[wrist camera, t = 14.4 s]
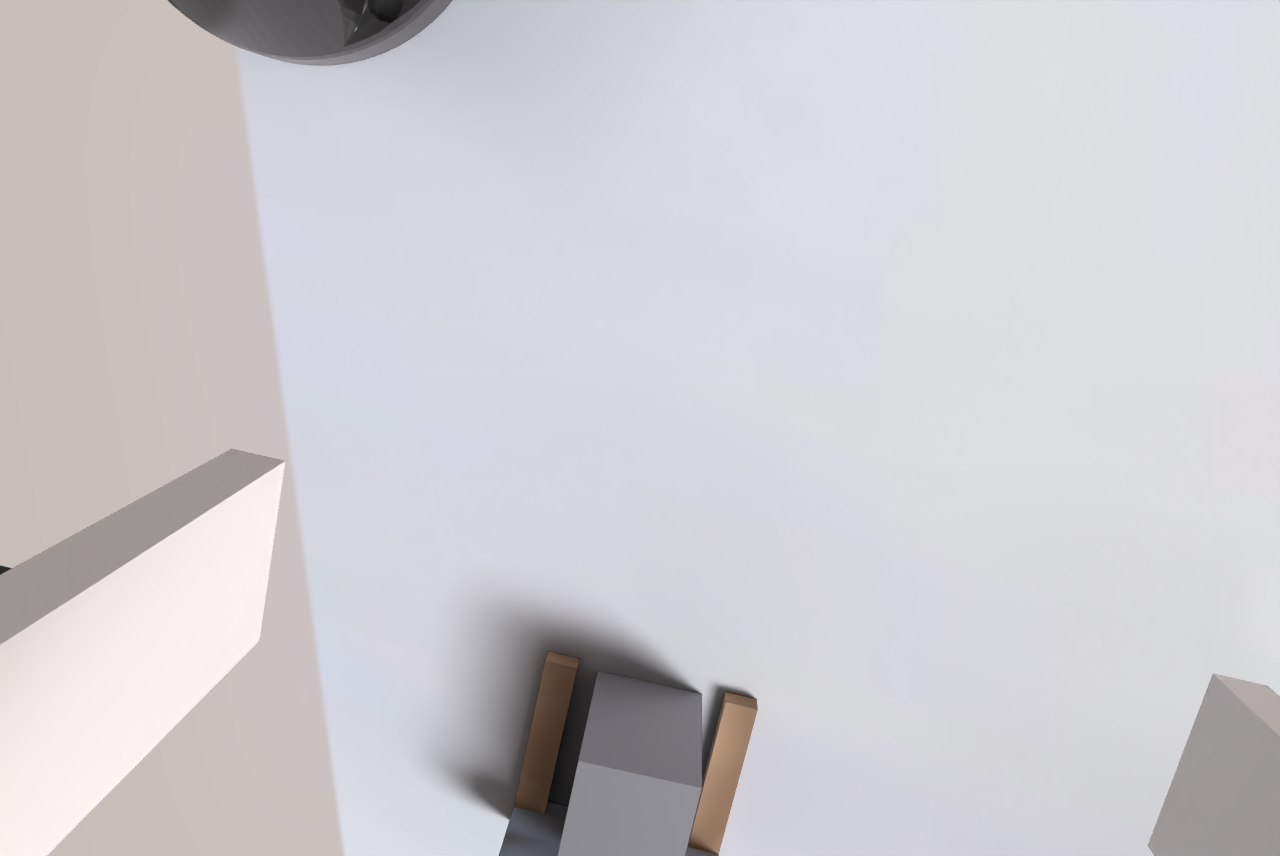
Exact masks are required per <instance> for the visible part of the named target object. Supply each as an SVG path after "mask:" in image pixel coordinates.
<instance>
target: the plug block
mask: <svg viewBox="0 0 1280 856" xmlns="http://www.w3.org/2000/svg"><path fill="white" fill-rule="evenodd" d="M701 789H702V694H700V693H696V692H691V691H687V690H682V689H678V688H673V687H668V686H664V685H659V684H655V683H650V682H646V681H641V680H637V679H632V678H628V677H623V676H619V675H614V674H610V673H605V672H600V671H598V673H597V678H596V683H595V687H594V692H593V696H592V701H591V705H590V710H589V715H588V719H587V724H586V728H585V733H584V737H583V742H582V747H581V751H580V756H579V760H578V765H577V769H576V774H575V779H574V783H573V788H572V792H571V797H570V802H569V806H568V811H567V815H566V820H565V825H564V829H563V834H562V838H561V843H560V848H559V852H558V856H685V853H686V849H687V845H688V841H689V837H690V833H691V829H692V825H693V821H694V817H695V813H696V809H697V805H698V801H699V797H700V793H701Z"/></svg>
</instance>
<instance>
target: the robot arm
mask: <svg viewBox="0 0 1280 856" xmlns="http://www.w3.org/2000/svg"><path fill="white" fill-rule="evenodd" d="M168 1H169V2H170V3H171V4H172V5H173V6H174V7H175V8H177V9H178V10H179V11H180V12H181V13H183V14H184V15H185V16H186V17H188V18H189V19H191V20H192V21H193V22H195V23H196V24H197V25H199V26H200V27H201V28H203V29H204V30H206V31H208V32H209V33H211V34H212V35H214V36H216V37H218V38H220V39H222V40H224V41H226V42H228V43H230V44H232V45H235V46H237V47H239V48H242V49H245V50H248V51H251V52H254V53H257V54H260V55H263V56H266V57H269V58H273V59H277V60H280V61H284V62H290V63H295V64H304V65H338V64H346V63H352V62H356V61H361V60H365V59H368V58H371V57H374V56H377V55H380V54H382V53H385V52H387V51H389V50H391V49H393V48H395V47H397V46H399V45H401V44H403V43H404V42H406V41H408V40H409V39H411V38H412V37H414V36H415V35H417V34H418V33H419V32H421V31H422V30H423V29H425V28H426V27H427V26H428V25H429V24H430V23H432V22H433V21H434V20H435V19H436V18H437V17H438V16H439V15H440V14H441V13H442V12H443V11H444V10H445V8H446V7H447V6H448V5H449V4H450V3H451V2H452V0H168ZM284 466H285V461H283V460H279V459H274V458H269V457H266V456H261V455H256V454H253V453H248V452H244V451H239V450H235V449H230V450H229V451H227V452H225V453H223V454H221V455H220V456H218V457H216V458H214V459H212V460H210V461H208V462H206V463H205V464H203V465H201V466H199V467H197V468H196V469H194V470H192V471H190V472H188V473H187V474H184V475H183V476H181V477H179V478H177V479H175V480H173V481H172V482H170V483H168V484H166V485H164V486H163V487H161V488H159V489H157V490H155V491H153V492H152V493H150V494H148V495H146V496H144V497H142V498H141V499H139V500H137V501H135V502H133V503H131V504H129V505H128V506H126V507H124V508H122V509H120V510H118V511H117V512H115V513H113V514H111V515H109V516H107V517H106V518H104V519H102V520H100V521H98V522H97V523H95V524H93V525H91V526H89V527H87V528H86V529H84V530H82V531H80V532H78V533H76V534H74V535H73V536H71V537H69V538H67V539H65V540H63V541H62V542H60V543H58V544H56V545H54V546H52V547H51V548H49V549H47V550H45V551H43V552H41V553H40V554H38V555H36V556H34V557H32V558H31V559H29V560H27V561H25V562H23V563H21V564H19V565H18V566H16V567H14V568H8V567H4V566H0V856H47V855H48V854H49V853H50V852H51V851H52V850H53V849H54V848H55V847H56V846H57V845H58V844H59V843H60V842H61V841H62V840H63V839H64V837H66V835H68V834H69V833H70V831H71V830H73V829H74V827H76V826H77V824H78V823H79V822H80V821H81V820H82V819H83V818H84V817H85V816H86V815H87V814H88V813H89V812H90V811H91V810H92V809H93V808H94V807H95V806H96V805H97V804H98V803H99V802H100V801H101V800H102V799H103V798H104V797H105V796H106V795H107V794H108V793H109V792H110V791H111V790H112V789H113V788H114V787H115V786H116V785H117V784H118V783H119V782H120V781H121V780H122V779H123V778H124V777H125V776H126V775H127V774H128V773H129V772H130V771H131V770H132V769H133V768H134V767H135V766H136V765H137V764H138V763H139V762H140V761H141V760H142V759H143V758H144V757H145V756H146V755H147V754H148V753H149V752H150V751H151V750H152V749H153V748H154V746H155V745H157V744H158V742H160V740H162V739H163V737H164V736H165V735H166V734H167V733H168V732H169V731H170V730H171V729H172V728H173V727H174V726H175V725H176V724H177V723H178V722H179V721H180V720H181V719H182V718H183V717H184V716H185V715H186V714H187V713H188V712H189V711H190V710H191V709H192V708H193V707H194V706H195V705H196V704H197V703H198V702H199V701H200V700H201V699H202V698H203V697H204V696H205V695H206V694H207V693H208V692H209V691H210V690H211V689H212V688H213V687H214V686H215V685H216V684H217V683H218V682H219V681H220V680H221V679H222V678H223V677H224V676H225V675H226V674H227V672H229V671H230V670H231V669H232V668H233V667H234V666H235V665H236V663H237V662H239V660H240V659H242V658H243V657H244V656H245V654H247V653H248V652H249V650H250V649H252V647H253V646H254V645H255V644H256V643H257V642H258V641H259V638H260V632H261V625H262V617H263V611H264V604H265V597H266V590H267V583H268V576H269V570H270V563H271V556H272V549H273V543H274V536H275V529H276V522H277V514H278V507H279V501H280V495H281V488H282V481H283V474H284ZM1148 847H1149V848H1150V850H1151V851H1152V853H1153V854H1154V855H1155V856H1280V696H1278V695H1277V694H1276V693H1275V692H1274V691H1273V690H1272V689H1270V688H1269V687H1268V686H1266V685H1261V684H1257V683H1252V682H1248V681H1244V680H1239V679H1235V678H1231V677H1226V676H1222V675H1218V674H1213V675H1212V677H1211V680H1210V683H1209V685H1208V688H1207V691H1206V693H1205V696H1204V698H1203V701H1202V704H1201V706H1200V709H1199V712H1198V714H1197V717H1196V720H1195V722H1194V725H1193V728H1192V730H1191V733H1190V735H1189V738H1188V741H1187V743H1186V746H1185V749H1184V751H1183V754H1182V757H1181V759H1180V762H1179V765H1178V767H1177V770H1176V772H1175V775H1174V778H1173V780H1172V783H1171V786H1170V788H1169V791H1168V794H1167V796H1166V799H1165V802H1164V804H1163V807H1162V809H1161V812H1160V815H1159V817H1158V820H1157V823H1156V825H1155V828H1154V831H1153V833H1152V836H1151V838H1150V841H1149V844H1148Z"/></svg>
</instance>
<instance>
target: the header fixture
mask: <svg viewBox="0 0 1280 856" xmlns="http://www.w3.org/2000/svg"><path fill="white" fill-rule="evenodd" d="M578 663H579V658H575V657H571V656H566V655H562V654H558V653H553V652H549V651H548V654H547V657H546V660H545V664H544V669H543V674H542V678H541V683H540V688H539V692H538V697H537V702H536V706H535V711H534V715H533V720H532V725H531V729H530V734H529V739H528V743H527V748H526V753H525V757H524V762H523V767H522V771H521V776H520V780H519V785H518V790H517V794H516V799H515V804H514V808H513V811H512V814H511V818H510V821H509V824H508V827H507V831H506V834H505V837H504V840H503V844H502V847H501V850H500V853H499V856H558V852H559V848H560V843H561V838H562V834H563V829H564V825H565V820H566V815H567V811H568V807H567V806H562V805H558V804H554V803H549V802H548V798H549V793H550V789H551V784H552V780H553V775H554V771H555V766H556V762H557V757H558V753H559V748H560V744H561V739H562V735H563V731H564V726H565V722H566V717H567V713H568V708H569V704H570V699H571V695H572V690H573V686H574V681H575V677H576V672H577V668H578ZM757 710H758V709H757V699H753V698H749V697H745V696H740V695H736V694H732V693H727V692H725V695H724V699H723V703H722V706H721V710H720V714H719V718H718V722H717V726H716V729H715V733H714V737H713V741H712V745H711V749H710V752H709V756H708V760H707V764H706V768H705V772H704V775H703V779H702V789H701V793H700V797H699V801H698V805H697V809H696V813H695V817H694V821H693V825H692V829H691V833H690V837H689V841H688V845H687V849H686V853H685V856H719V851H720V847H721V843H722V839H723V836H724V832H725V828H726V825H727V821H728V817H729V814H730V810H731V806H732V802H733V799H734V795H735V791H736V788H737V784H738V780H739V777H740V773H741V769H742V765H743V762H744V758H745V754H746V751H747V747H748V743H749V739H750V736H751V732H752V728H753V725H754V721H755V717H756V714H757Z"/></svg>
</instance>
